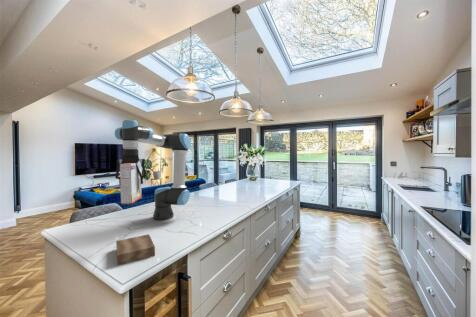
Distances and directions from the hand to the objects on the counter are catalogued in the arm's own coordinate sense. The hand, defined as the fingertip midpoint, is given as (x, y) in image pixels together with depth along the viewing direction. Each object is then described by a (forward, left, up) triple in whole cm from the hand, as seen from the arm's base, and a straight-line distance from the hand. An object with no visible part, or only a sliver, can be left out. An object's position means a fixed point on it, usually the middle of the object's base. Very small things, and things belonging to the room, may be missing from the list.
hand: (131, 190), depth 114 cm
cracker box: (0, 0, -6) cm, 6 cm away
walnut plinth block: (0, +10, -30) cm, 32 cm away
